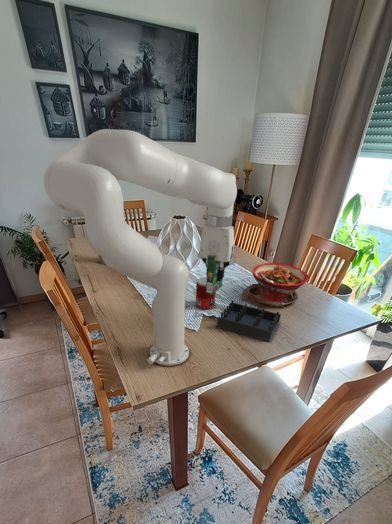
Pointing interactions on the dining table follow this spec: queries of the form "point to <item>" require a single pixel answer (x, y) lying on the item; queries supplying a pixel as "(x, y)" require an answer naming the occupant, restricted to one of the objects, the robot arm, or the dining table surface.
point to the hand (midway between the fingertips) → (214, 278)
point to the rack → (249, 321)
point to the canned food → (204, 295)
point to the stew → (274, 285)
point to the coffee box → (212, 275)
